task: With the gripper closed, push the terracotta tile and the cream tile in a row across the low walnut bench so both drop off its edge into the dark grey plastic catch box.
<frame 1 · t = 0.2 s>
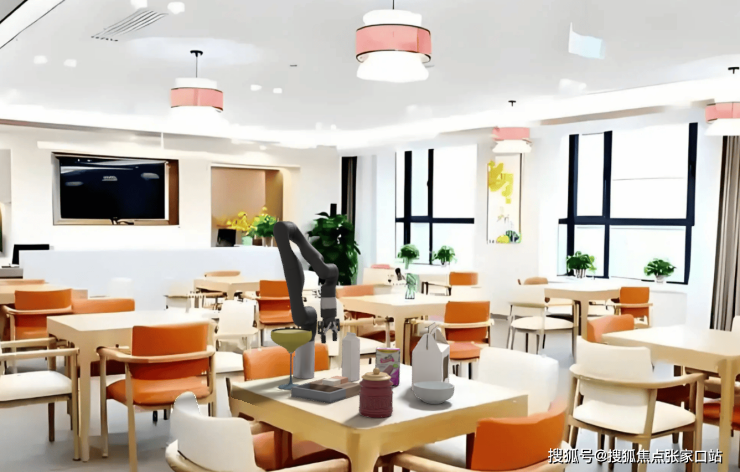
hand: (329, 342, 338), 18 cm above the table, tool pointing down, fingers open, 8 cm apart
gable box: (430, 387, 329), on the table
bench: (334, 392, 314), on the table
cream tile: (331, 384, 312), point 4 cm above the table, touching bench
terracotta tile: (339, 382, 317), point 4 cm above the table, touching bench
cereal bowl: (433, 402, 300), on the table
milk: (350, 380, 341), on the table
candy bar box: (387, 384, 332), on the table
cocktail glass: (290, 387, 324), on the table
catch box: (318, 397, 305), on the table
canister: (375, 414, 279), on the table
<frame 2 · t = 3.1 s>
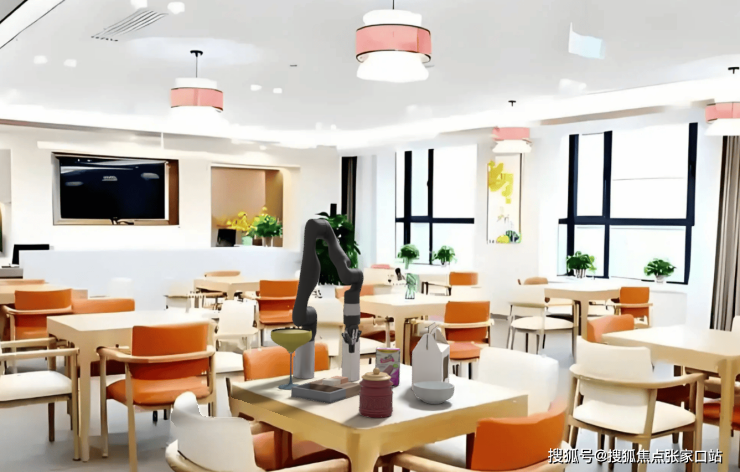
hand: (351, 352, 324), 15 cm above the table, tool pointing down, fingers closed
nothing on the table moved.
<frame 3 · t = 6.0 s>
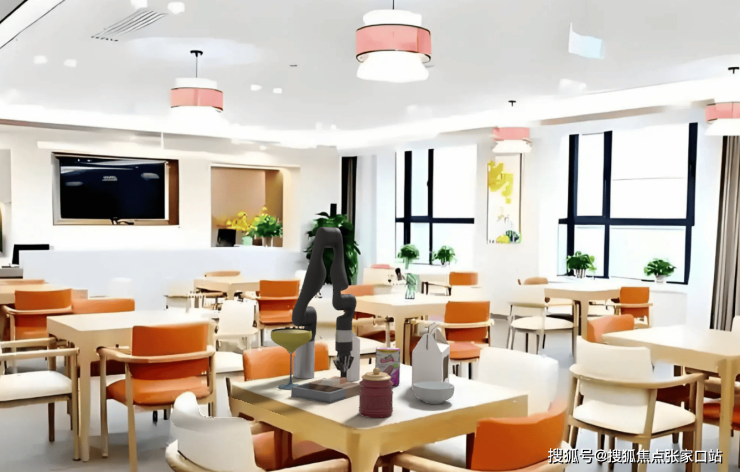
hand: (343, 379, 319), 5 cm above the table, tool pointing down, fingers closed
terracotta tile: (337, 382, 316), point 4 cm above the table, touching bench, gripper
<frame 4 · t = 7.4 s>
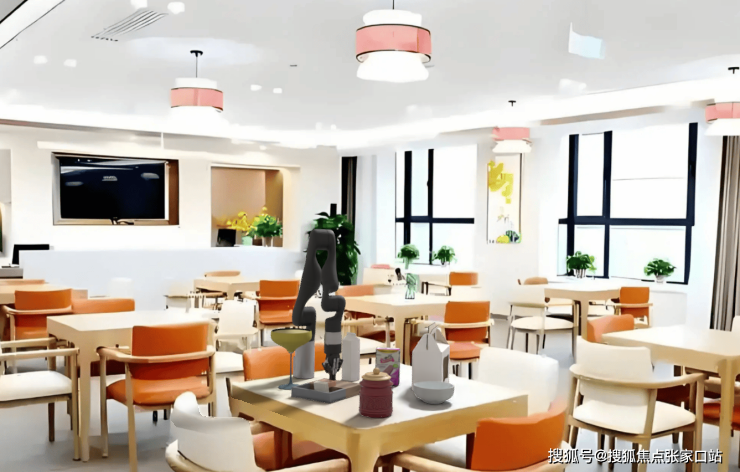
hand: (332, 382, 312), 5 cm above the table, tool pointing down, fingers closed
cream tile: (322, 387, 307), point 4 cm above the table, tilted 103°, touching catch box, terracotta tile
terracotta tile: (326, 385, 309), point 4 cm above the table, touching cream tile, gripper
everything else where it was.
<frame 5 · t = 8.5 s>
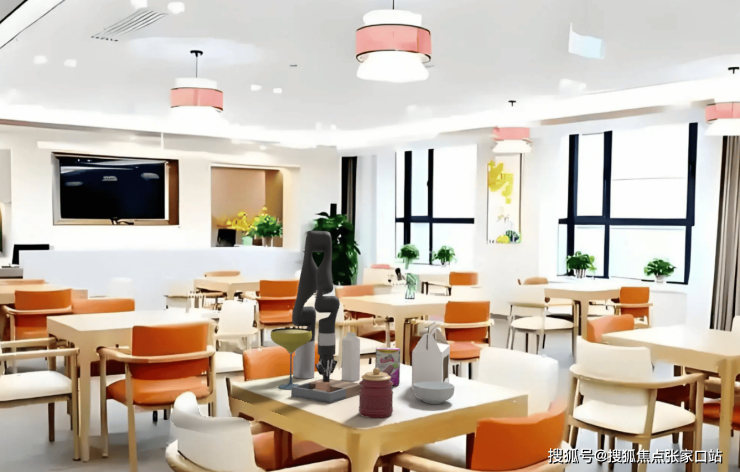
hand: (326, 384, 309), 5 cm above the table, tool pointing down, fingers closed
cream tile: (317, 390, 304), point 3 cm above the table, tilted 180°, touching catch box
terracotta tile: (324, 387, 307), point 4 cm above the table, tilted 92°, touching catch box, gripper
everything else where it was.
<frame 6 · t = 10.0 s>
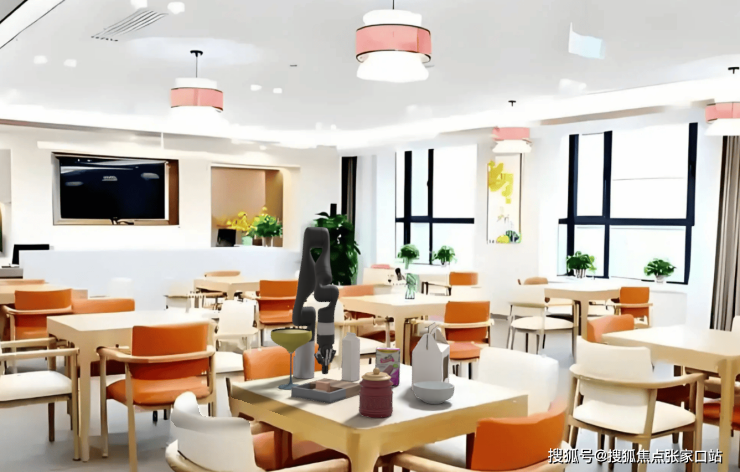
hand: (325, 373, 308), 9 cm above the table, tool pointing down, fingers closed
terracotta tile: (324, 387, 307), point 3 cm above the table, tilted 90°, touching catch box
everything else where it was.
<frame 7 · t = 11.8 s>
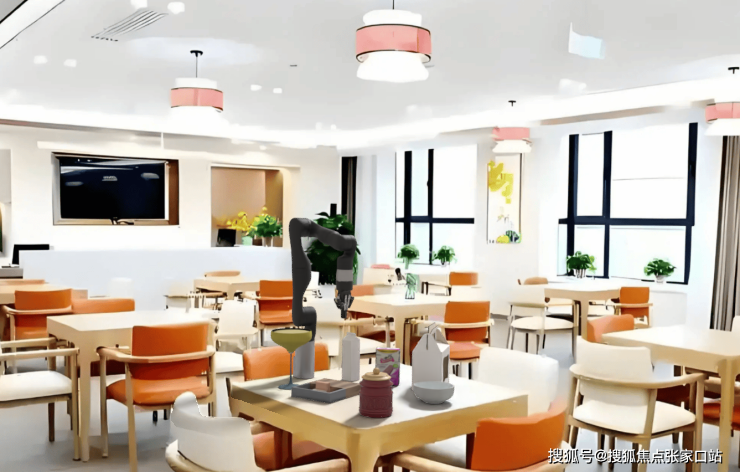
hand: (343, 318, 328), 30 cm above the table, tool pointing down, fingers closed
nothing on the table moved.
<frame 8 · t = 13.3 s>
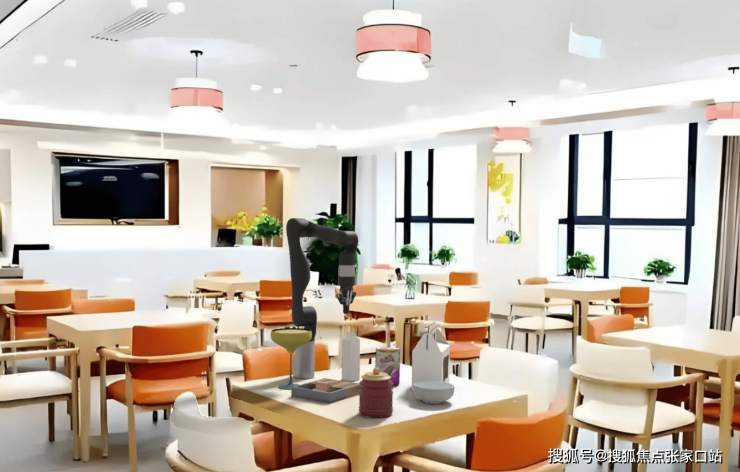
hand: (346, 313, 330), 32 cm above the table, tool pointing down, fingers closed
nothing on the table moved.
at the end: terracotta tile inside the target area on the catch box (3.4 cm from its centre), point 3.5 cm above the catch box's base; cream tile inside the target area on the catch box (1.5 cm from its centre), point 3.0 cm above the catch box's base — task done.
